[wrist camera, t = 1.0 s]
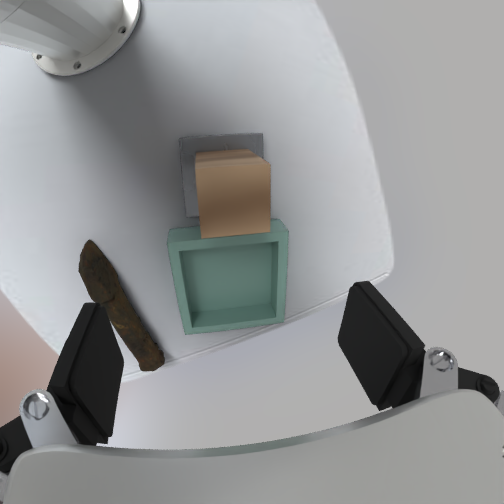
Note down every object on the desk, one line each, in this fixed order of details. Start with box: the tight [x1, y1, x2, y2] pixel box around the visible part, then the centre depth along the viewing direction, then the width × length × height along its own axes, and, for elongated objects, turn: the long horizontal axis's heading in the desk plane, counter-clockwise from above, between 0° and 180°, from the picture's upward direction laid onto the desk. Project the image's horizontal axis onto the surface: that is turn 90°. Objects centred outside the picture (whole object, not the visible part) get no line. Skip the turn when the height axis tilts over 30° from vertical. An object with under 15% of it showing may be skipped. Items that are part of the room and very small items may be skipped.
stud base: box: [179, 133, 263, 217], centre depth 26 cm, size 8×8×4 cm
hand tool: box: [79, 240, 165, 371], centre depth 31 cm, size 19×4×5 cm, turn 10°
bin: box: [167, 219, 289, 335], centre depth 32 cm, size 12×12×4 cm
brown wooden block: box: [195, 149, 270, 239], centre depth 23 cm, size 5×5×9 cm
